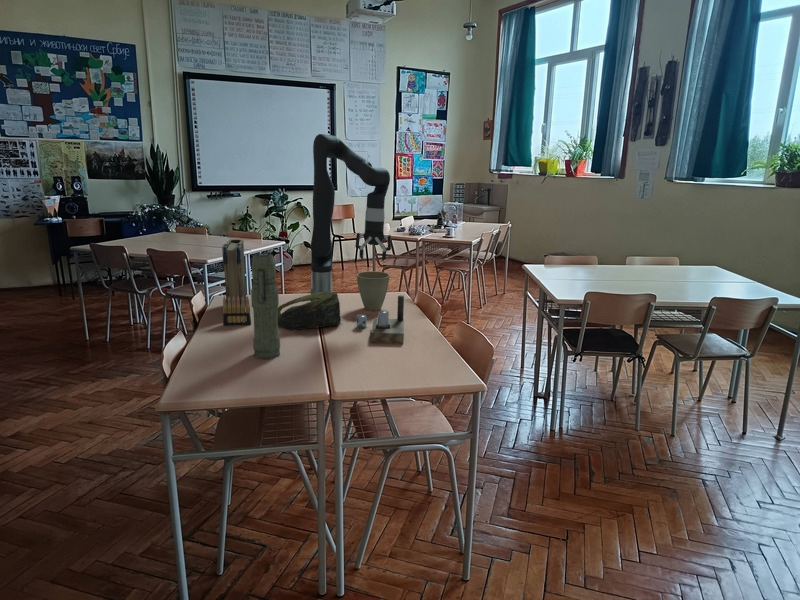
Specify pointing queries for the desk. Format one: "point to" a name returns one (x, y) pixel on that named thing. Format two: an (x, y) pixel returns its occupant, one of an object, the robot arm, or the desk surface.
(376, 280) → the plant pot
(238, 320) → the ammunition clip
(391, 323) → the hole board
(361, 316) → the short pin
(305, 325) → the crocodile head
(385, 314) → the tall pin
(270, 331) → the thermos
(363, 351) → the desk surface
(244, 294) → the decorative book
